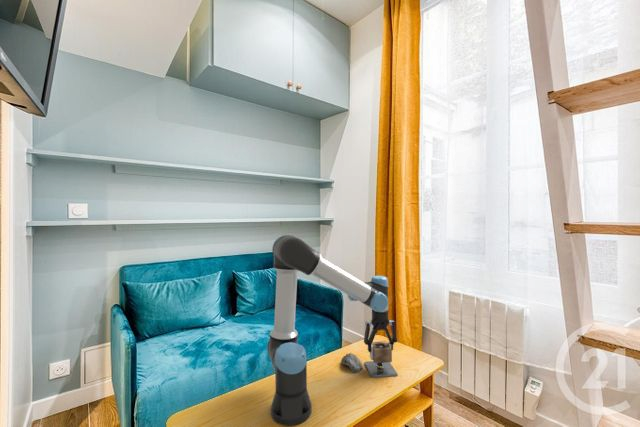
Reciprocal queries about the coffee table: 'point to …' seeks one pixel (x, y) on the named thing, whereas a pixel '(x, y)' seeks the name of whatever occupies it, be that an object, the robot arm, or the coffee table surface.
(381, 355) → the collar
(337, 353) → the coffee table surface
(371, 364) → the knob on metal plate
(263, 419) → the coffee table surface
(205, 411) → the coffee table surface
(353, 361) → the fossilized seashell
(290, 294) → the robot arm
